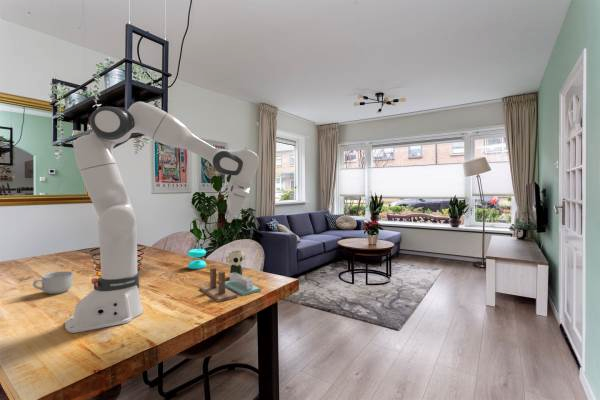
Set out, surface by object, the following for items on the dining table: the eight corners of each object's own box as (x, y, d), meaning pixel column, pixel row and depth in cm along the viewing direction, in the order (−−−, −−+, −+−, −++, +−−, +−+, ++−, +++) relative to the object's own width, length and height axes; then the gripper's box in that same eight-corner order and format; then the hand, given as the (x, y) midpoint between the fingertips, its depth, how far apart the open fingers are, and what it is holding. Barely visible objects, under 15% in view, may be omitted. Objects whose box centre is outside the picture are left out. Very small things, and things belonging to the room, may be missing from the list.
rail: (246, 290, 127) (246, 281, 127) (229, 281, 139) (229, 273, 139) (252, 288, 129) (252, 279, 129) (235, 280, 141) (235, 272, 141)
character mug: (229, 280, 146) (229, 254, 145) (223, 277, 151) (222, 251, 151) (248, 276, 153) (248, 251, 152) (242, 273, 158) (241, 249, 158)
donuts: (194, 252, 164) (184, 250, 170) (195, 270, 164) (184, 267, 170) (209, 249, 172) (199, 248, 178) (209, 266, 172) (199, 264, 178)
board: (242, 295, 124) (242, 292, 124) (222, 284, 138) (222, 282, 138) (260, 290, 130) (260, 288, 130) (239, 281, 144) (239, 278, 144)
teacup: (68, 286, 137) (68, 269, 137) (77, 290, 131) (76, 272, 131) (28, 295, 126) (28, 276, 126) (36, 300, 120) (35, 280, 119)
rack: (219, 302, 117) (218, 276, 116) (199, 289, 132) (199, 267, 132) (237, 297, 122) (237, 273, 122) (216, 285, 137) (216, 264, 137)
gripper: (229, 182, 130) (219, 211, 131) (233, 189, 111) (221, 223, 112) (243, 186, 133) (233, 215, 134) (249, 194, 113) (237, 227, 114)
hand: (227, 219), depth 123 cm, fingers open, 8 cm apart
